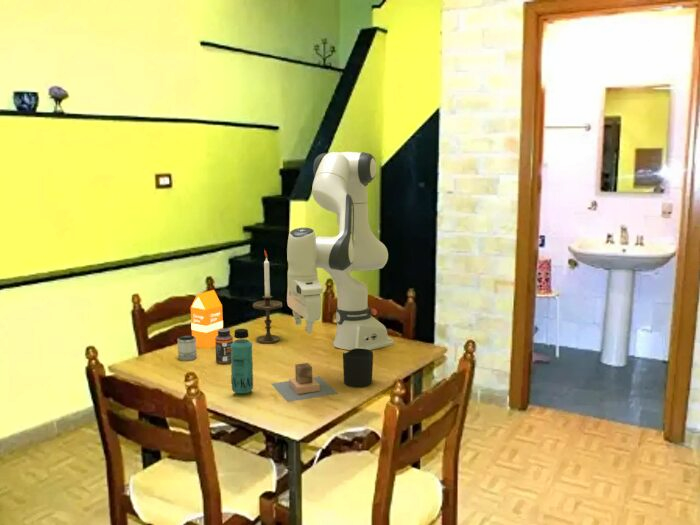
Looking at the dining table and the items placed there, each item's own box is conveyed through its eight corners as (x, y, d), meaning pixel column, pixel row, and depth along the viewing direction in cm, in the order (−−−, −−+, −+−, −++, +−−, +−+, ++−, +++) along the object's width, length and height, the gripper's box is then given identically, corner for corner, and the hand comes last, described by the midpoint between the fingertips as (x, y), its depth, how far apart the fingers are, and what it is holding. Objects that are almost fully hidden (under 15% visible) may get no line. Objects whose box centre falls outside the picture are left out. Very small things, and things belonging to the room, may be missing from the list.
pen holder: (375, 388, 204) (376, 357, 202) (345, 390, 202) (345, 358, 200) (369, 377, 213) (369, 347, 211) (340, 379, 211) (340, 349, 209)
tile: (310, 375, 207) (319, 384, 200) (310, 382, 207) (319, 391, 200) (289, 379, 204) (297, 387, 197) (289, 385, 205) (297, 394, 197)
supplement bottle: (229, 365, 225) (228, 332, 223) (213, 364, 226) (211, 331, 224) (236, 359, 231) (235, 328, 229) (220, 358, 232) (218, 327, 230)
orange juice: (223, 342, 251) (221, 290, 247) (207, 348, 243) (204, 295, 240) (208, 339, 255) (206, 288, 251) (191, 345, 247) (189, 292, 244)
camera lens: (197, 360, 230) (196, 338, 229) (178, 362, 229) (177, 339, 227) (196, 354, 236) (195, 333, 235) (177, 356, 234) (176, 335, 233)
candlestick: (260, 346, 246) (258, 252, 240) (249, 339, 255) (247, 248, 249) (287, 341, 251) (285, 250, 245) (275, 334, 260) (273, 246, 254)
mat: (319, 377, 213) (319, 376, 213) (338, 394, 198) (338, 393, 198) (271, 384, 207) (271, 383, 206) (287, 403, 192) (287, 401, 192)
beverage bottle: (232, 390, 202) (230, 326, 198) (254, 389, 202) (252, 326, 199) (230, 398, 196) (228, 332, 192) (253, 398, 196) (251, 332, 193)
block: (307, 378, 205) (307, 362, 204) (312, 382, 201) (312, 366, 200) (295, 380, 203) (295, 364, 202) (299, 384, 200) (299, 368, 199)
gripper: (281, 277, 205) (282, 320, 208) (304, 291, 187) (304, 338, 190) (300, 275, 208) (301, 318, 211) (325, 289, 190) (325, 336, 192)
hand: (303, 328), depth 200 cm, fingers open, 8 cm apart
